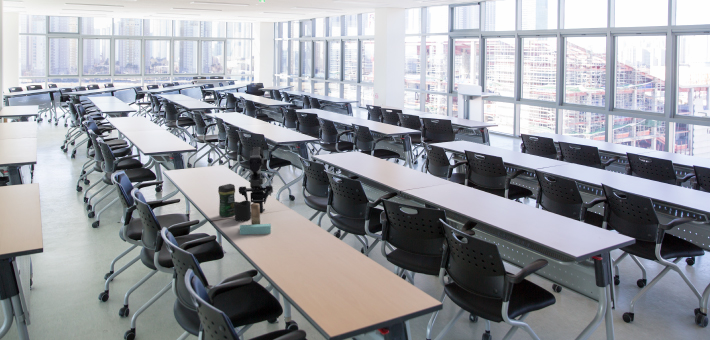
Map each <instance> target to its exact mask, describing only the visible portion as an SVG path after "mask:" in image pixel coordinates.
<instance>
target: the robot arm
mask: <svg viewBox="0 0 710 340" xmlns="http://www.w3.org/2000/svg"><path fill="white" fill-rule="evenodd" d="M264 160H265V151H264V149H262V148H261V147H260V146H254V147H252V148H251V150H249V158H248V168H249V172H250V183H249V188H247V186H239V187H238V192H239V195H241V196H243V197H244V200H246V202H247V205H248V201H249V197H248V192H249V193H250V202H251V204H253V203H258V204H259V205H260V214H261V213H262V214H263V213H264V212H265V210H266V209H265V208H264V205H265V204H266V202H267V200H268V198H269V196H270V195H271V194H273V192H274V188H273V187H274V186H272V185H265V187H263V185H264V178H262V169H261V168H262V167H263V166H264Z"/></svg>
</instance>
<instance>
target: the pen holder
mask: <svg viewBox="0 0 710 340" xmlns="http://www.w3.org/2000/svg"><path fill="white" fill-rule="evenodd" d="M251 204H252V203H251V200H248V205H247V202H246V199H244V200H242V201H235V202H234V211H235V215H234V219H235V220H236V221H237V222H246V221H249V220H251Z"/></svg>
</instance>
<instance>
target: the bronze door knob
mask: <svg viewBox="0 0 710 340" xmlns="http://www.w3.org/2000/svg"><path fill="white" fill-rule="evenodd" d="M250 220H251V221H250V222H251V223H250V224H251V225H254V224H261V213H260V205H259V204H258V203H253V202H252V203H251V218H250Z"/></svg>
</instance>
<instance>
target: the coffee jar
mask: <svg viewBox="0 0 710 340" xmlns="http://www.w3.org/2000/svg"><path fill="white" fill-rule="evenodd" d="M217 191H218V195H219V208H218V214H219V216H220V217H222V218H224V217H225V218H229V217H232V216H235V211H234V202H236V201H235V200H236V199H235V194H236V186H235V184H232V183H226V184H223V185H219V186H218V190H217Z"/></svg>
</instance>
